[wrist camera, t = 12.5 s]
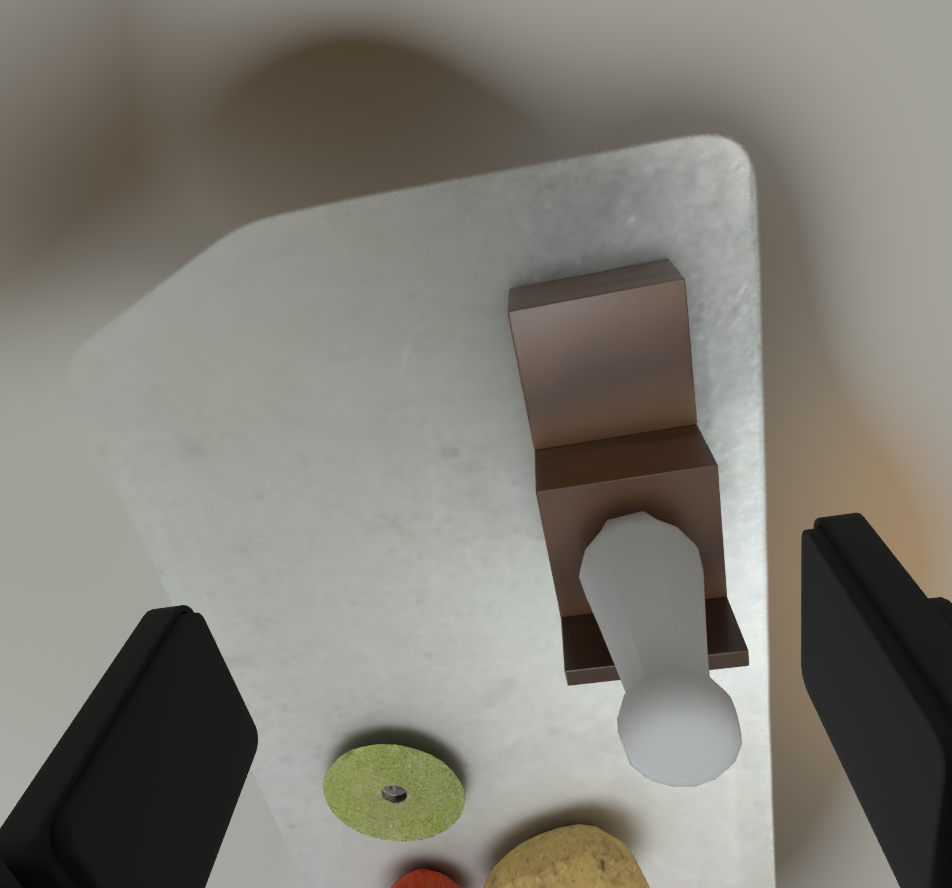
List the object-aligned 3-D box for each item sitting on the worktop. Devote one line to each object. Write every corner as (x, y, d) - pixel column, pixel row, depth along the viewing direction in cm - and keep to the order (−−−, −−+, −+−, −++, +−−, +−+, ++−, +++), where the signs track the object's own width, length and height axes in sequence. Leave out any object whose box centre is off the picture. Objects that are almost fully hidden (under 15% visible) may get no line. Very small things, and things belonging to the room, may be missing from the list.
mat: (304, 744, 58) (297, 764, 56) (431, 710, 55) (428, 731, 53) (366, 832, 62) (362, 853, 60) (487, 804, 60) (486, 826, 58)
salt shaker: (563, 512, 36) (583, 714, 24) (677, 482, 35) (754, 680, 23) (593, 601, 38) (624, 825, 27) (701, 576, 37) (782, 798, 26)
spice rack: (509, 288, 40) (503, 371, 29) (668, 258, 39) (729, 331, 27) (556, 539, 48) (567, 686, 36) (692, 520, 46) (749, 666, 35)
